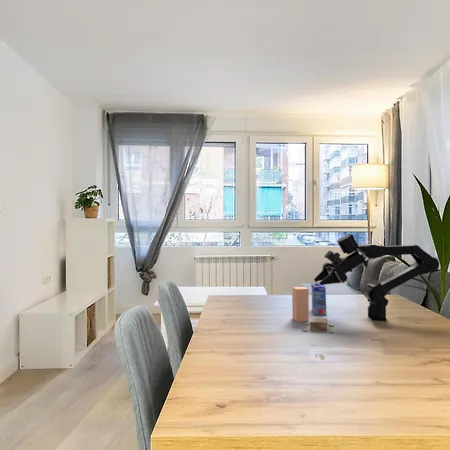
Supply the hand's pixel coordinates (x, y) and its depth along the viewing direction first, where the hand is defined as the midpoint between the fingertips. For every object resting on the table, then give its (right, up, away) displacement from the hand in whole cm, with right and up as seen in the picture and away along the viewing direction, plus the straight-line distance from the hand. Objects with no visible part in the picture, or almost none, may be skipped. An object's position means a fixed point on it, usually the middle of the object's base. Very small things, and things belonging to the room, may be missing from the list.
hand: (317, 282), depth 164 cm
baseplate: (-3, -16, -18) cm, 24 cm away
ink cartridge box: (+4, -15, +14) cm, 21 cm away
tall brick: (-8, -16, -5) cm, 18 cm away
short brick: (-3, -14, -18) cm, 23 cm away
